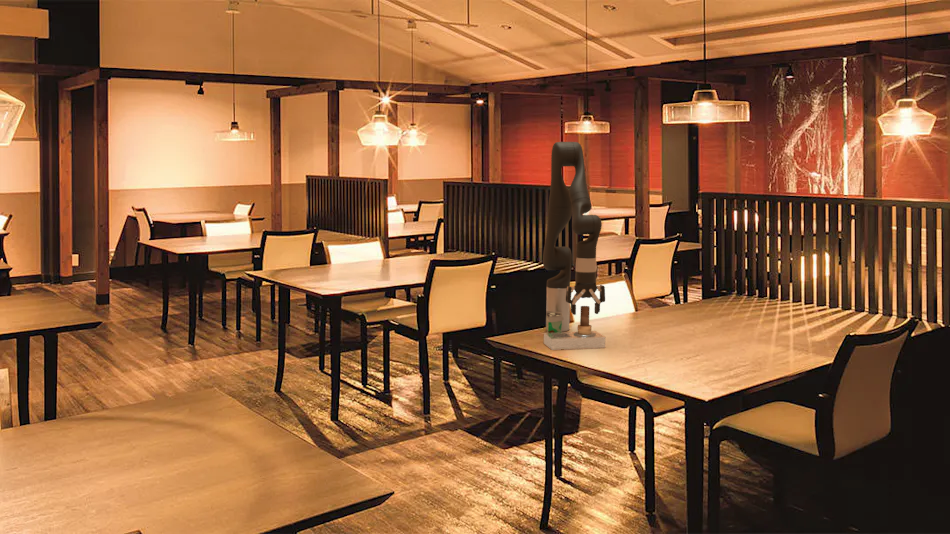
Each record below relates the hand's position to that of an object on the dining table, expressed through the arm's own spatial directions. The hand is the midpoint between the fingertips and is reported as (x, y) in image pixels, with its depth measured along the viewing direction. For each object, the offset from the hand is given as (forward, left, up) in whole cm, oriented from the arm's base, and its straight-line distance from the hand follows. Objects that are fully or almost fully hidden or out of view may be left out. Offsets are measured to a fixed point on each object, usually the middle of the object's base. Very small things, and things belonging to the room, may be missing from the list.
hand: (585, 314), depth 315 cm
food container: (-11, -8, -12) cm, 18 cm away
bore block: (0, -4, -12) cm, 12 cm away
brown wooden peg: (0, 0, -7) cm, 7 cm away
